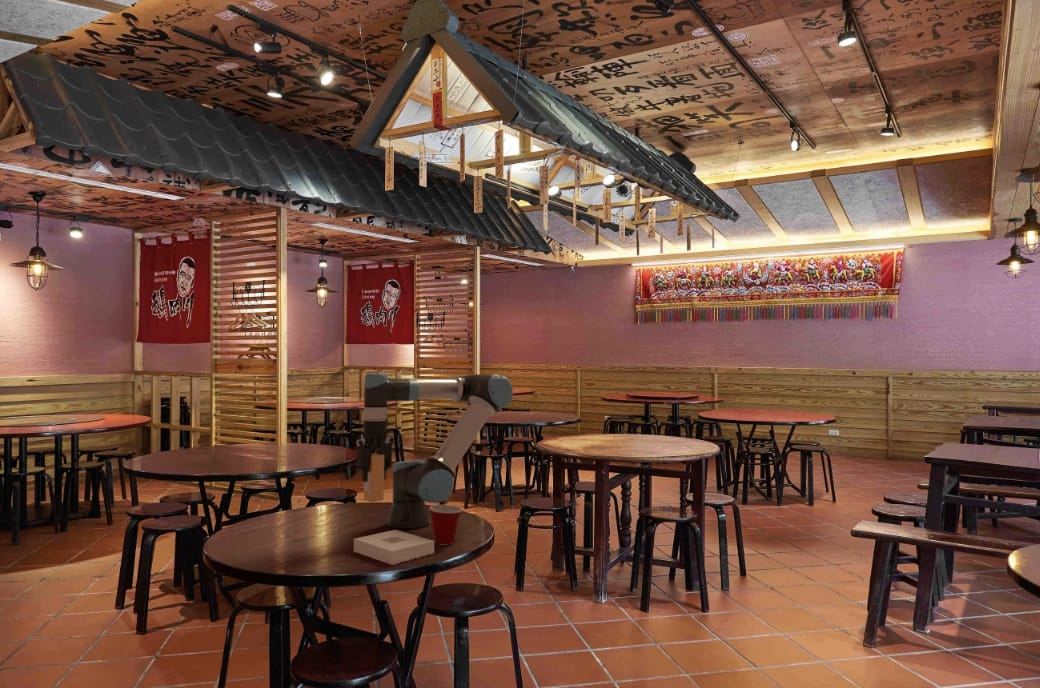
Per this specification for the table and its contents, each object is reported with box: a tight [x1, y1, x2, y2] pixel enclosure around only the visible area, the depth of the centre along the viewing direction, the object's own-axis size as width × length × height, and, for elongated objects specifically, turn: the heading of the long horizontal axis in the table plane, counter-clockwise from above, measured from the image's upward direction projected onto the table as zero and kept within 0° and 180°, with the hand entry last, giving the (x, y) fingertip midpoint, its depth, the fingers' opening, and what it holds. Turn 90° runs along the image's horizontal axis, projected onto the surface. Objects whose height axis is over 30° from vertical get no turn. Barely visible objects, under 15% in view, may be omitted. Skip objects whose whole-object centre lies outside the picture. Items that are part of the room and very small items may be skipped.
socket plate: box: [353, 529, 435, 566], centre depth 222 cm, size 16×20×4 cm
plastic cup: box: [428, 504, 463, 545], centre depth 232 cm, size 11×11×12 cm
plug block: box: [363, 452, 385, 503], centre depth 234 cm, size 4×4×15 cm
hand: (373, 490), depth 234 cm, fingers closed on plug block, 4 cm apart
